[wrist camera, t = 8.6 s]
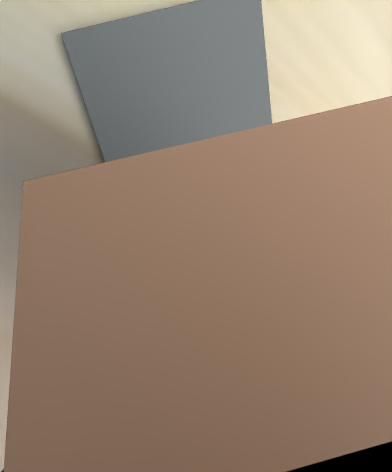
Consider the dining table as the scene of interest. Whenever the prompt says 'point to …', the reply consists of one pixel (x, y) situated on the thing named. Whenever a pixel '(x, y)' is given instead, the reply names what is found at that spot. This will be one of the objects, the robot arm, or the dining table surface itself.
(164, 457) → the terracotta block
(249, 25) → the mat
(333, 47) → the dining table surface
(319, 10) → the dining table surface
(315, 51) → the dining table surface
